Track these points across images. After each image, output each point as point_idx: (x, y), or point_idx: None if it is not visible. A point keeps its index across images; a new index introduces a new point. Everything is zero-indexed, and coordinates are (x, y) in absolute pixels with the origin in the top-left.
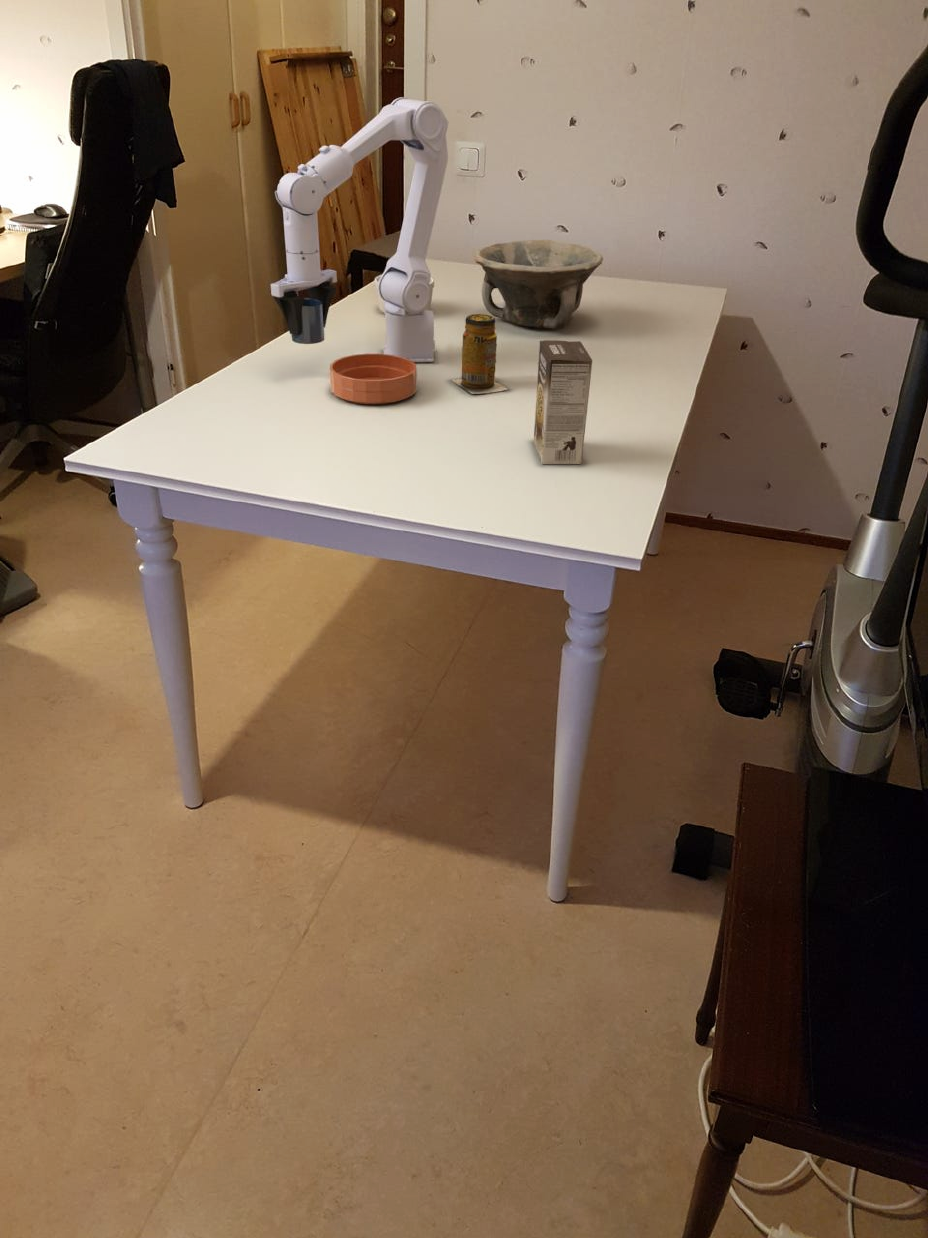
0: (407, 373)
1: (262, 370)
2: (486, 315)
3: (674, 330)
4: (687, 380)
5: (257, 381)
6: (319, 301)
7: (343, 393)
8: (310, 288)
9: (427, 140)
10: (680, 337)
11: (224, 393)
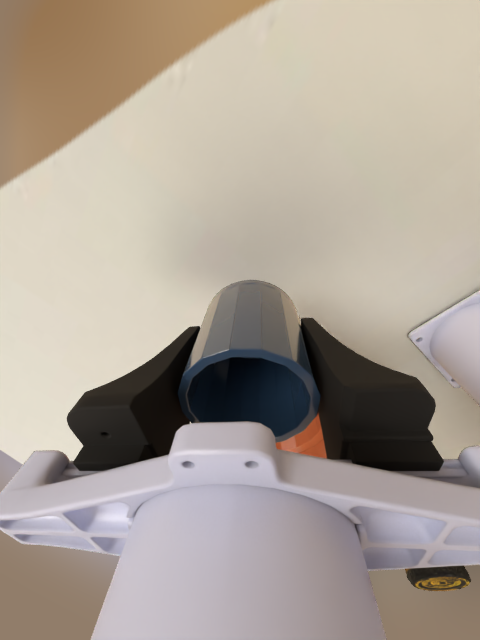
0: (318, 436)
1: (183, 184)
2: (463, 584)
3: None
4: None
5: (137, 244)
6: (300, 421)
7: None
8: (338, 408)
9: None
10: None
11: (50, 257)
